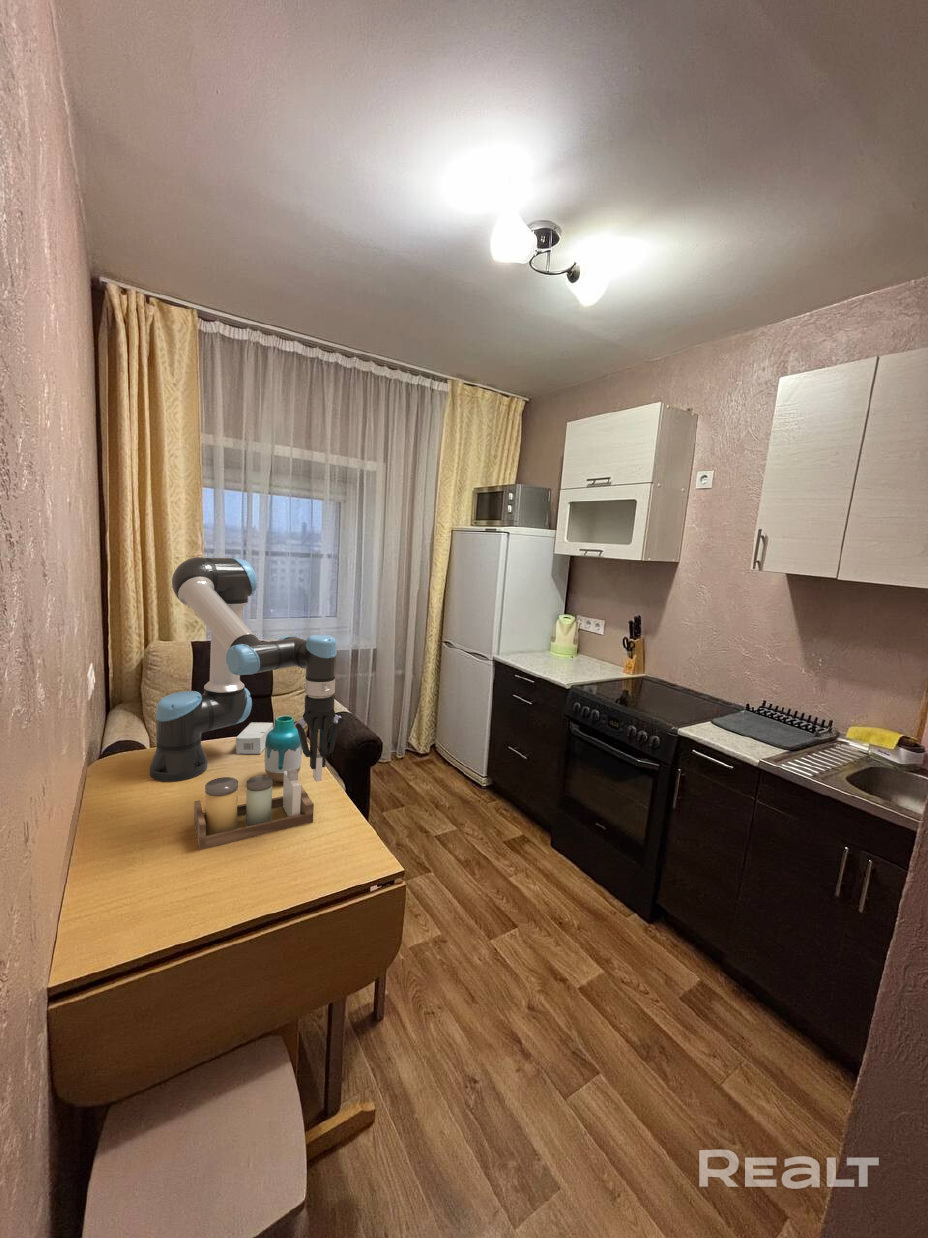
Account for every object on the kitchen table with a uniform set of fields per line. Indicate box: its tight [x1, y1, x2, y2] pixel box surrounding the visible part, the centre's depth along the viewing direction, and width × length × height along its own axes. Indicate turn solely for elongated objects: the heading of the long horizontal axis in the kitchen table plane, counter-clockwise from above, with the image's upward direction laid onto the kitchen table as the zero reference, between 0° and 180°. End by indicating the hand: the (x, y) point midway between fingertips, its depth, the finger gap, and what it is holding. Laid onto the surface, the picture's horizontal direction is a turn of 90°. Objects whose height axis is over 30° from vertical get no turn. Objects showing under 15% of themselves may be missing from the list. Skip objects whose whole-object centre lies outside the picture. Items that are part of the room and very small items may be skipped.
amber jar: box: [204, 776, 239, 836], centre depth 119 cm, size 7×7×12 cm
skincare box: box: [235, 722, 274, 755], centre depth 170 cm, size 8×6×15 cm
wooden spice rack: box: [193, 784, 315, 850], centre depth 124 cm, size 12×26×6 cm, turn 124°
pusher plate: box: [282, 768, 302, 817], centre depth 129 cm, size 9×2×12 cm, turn 34°
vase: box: [264, 714, 303, 783], centre depth 147 cm, size 11×11×19 cm
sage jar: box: [245, 775, 273, 827], centre depth 124 cm, size 6×6×11 cm
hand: (317, 779), depth 132 cm, fingers closed
